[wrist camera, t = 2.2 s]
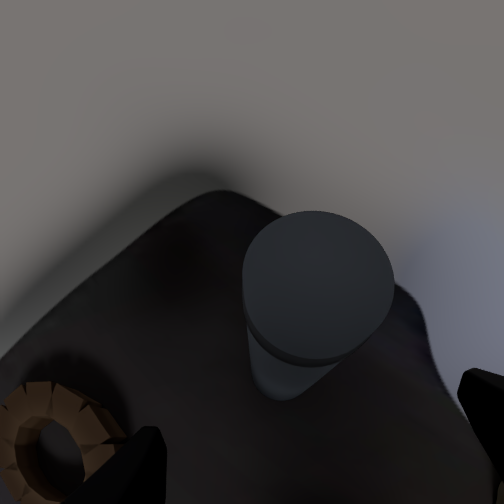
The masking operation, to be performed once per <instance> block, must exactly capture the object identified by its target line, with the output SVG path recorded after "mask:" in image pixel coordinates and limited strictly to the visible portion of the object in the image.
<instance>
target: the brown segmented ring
mask: <svg viewBox="0 0 504 504" xmlns="http://www.w3.org/2000/svg"><path fill="white" fill-rule="evenodd" d="M4 402H5V405H6V406H4V405H1V406H0V437H1V438H0V467H1V468H5V469H4V470H3V471H2V472H0V475H1V477H2V479H3V481H4V482H5V484H6V486H7V488H8V489H9V491H10V493H11V495H12V496H13V498H14V500H15V501H21V504H60V503H61V502H62V501H64V500H65V498H67V497H68V496H66V495H65V494H63V493H62V492H60V491H59V490H57V489H56V488H55V487H53V486H52V485H51V484H50V483H49V481H48V480H47V478H46V477H45V475H44V474H43V472H42V470H41V469H40V467H39V463H38V457H37V450H36V445H37V441H38V438H39V435H40V432H41V430H42V429H43V428H44V427H45V426H47V425H48V424H49V423H50V422H52V421H53V420H55V421H57V422H58V423H60V424H61V425H63V426H64V427H66V428H67V429H68V430H69V432H70V434H71V435H72V437H73V439H74V440H75V442H76V443H77V445H78V446H79V448H80V449H81V453H82V459H83V464H84V469H85V474H86V475H85V478H84V482H85V481H86V480H87V479H88V478H89V477H90V476H91V475H92V474H93V473H94V472H95V471H97V470H98V469H99V468H100V467H101V466H102V465H103V464H104V463H105V462H106V461H107V460H108V459H109V458H110V457H112V456H113V455H114V454H115V453H116V452H117V451H118V450H119V449H120V448H121V447H122V446H123V445H124V444H118V443H120V442H121V441H123V440H124V439H125V438H127V436H126V434H125V433H124V432H123V430H122V429H121V428H120V426H119V425H118V424H117V422H116V421H115V419H114V418H113V416H112V415H111V414H110V412H109V411H108V409H105V408H101V407H102V404H100V403H99V402H97V401H95V400H93V399H91V398H90V397H88V396H86V395H84V394H83V393H81V392H79V391H78V390H75V389H72V388H69V387H66V386H64V385H61V384H58V383H54V382H51V381H48V382H26V386H25V385H22V384H21V385H20V386H19V387H18V388H17V389H16V390H15V391H13V392H12V393H11V394H10V395H9V396H8V397H7V398H6V399H4Z"/></svg>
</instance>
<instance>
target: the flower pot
mask: <svg viewBox="0 0 504 504" xmlns="http://www.w3.org/2000/svg"><path fill="white" fill-rule="evenodd" d="M496 504H504V483H503V481H501V483H500V485H499V487H498V496H497V501H496Z"/></svg>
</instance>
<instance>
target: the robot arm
mask: <svg viewBox="0 0 504 504" xmlns="http://www.w3.org/2000/svg"><path fill="white" fill-rule="evenodd" d="M457 396H458V399H459V401H460V403H461V405H462V407H463V410H464V412H465V414H466V416H467V418H468V420H469V422H470V424H471V426H472V428H473V430H474V432H475V434H476V436H477V438H478V439H479V441H480V443H481V444H482V446H483V448H484V449H485V451H486V453H487V455H488V456H489V458H490V460H491V461H492V463H493V465H494V467H495V469H496V470H497V472H498V474H499V476H500V478H501V480H502V481H503V483H504V376H501V375H498V374H494V373H491V372H488V371H484V370H481V369H478V368H472V369H469V370H467V371H465V372H464V373H463V375H462V378H461V381H460V385H459V388H458V391H457ZM166 469H167V448H166V444H165V442H164V439H163V437H162V434H161V432H160V430H159V428H158V427H155V426H144V427H142V428H141V429H140V430H139V431H138V432H137V433H136V434H135V435H134V436H133V437H131V438H130V439H129V440H128V441H127V442H126V443H125V444H124V445H123V446H122V447H121V448H120V449H119V450H118V451H117V452H116V453H115V454H114V455H113V456H112V457H110V458H109V459H108V460H107V461H106V462H105V463H104V464H103V465H102V466H101V467H100V468H99V469H98V470H97V471H95V472H94V473H93V474H92V475H91V476H90V477H89V478H88V479H87V480H86V481H85V482H83V483H82V484H81V485H80V486H79V487H78V488H77V489H76V490H75V491H73V492H72V493H71V494H70V495H69V496H68V497H67V498H65V500H64V501H62V502H61V503H60V504H165V499H166Z"/></svg>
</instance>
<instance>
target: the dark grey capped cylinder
mask: <svg viewBox="0 0 504 504" xmlns="http://www.w3.org/2000/svg"><path fill="white" fill-rule="evenodd" d="M242 278H243V284H242V301H243V310H244V316H245V320H246V323H247V332H248V342H249V352H250V362H251V372H252V379H253V382H254V384H255V386H256V388H257V389H258V390H259V391H260V392H261V393H262V394H263V395H264V396H266V397H268V398H270V399H273V400H278V401H285V400H290V399H293V398H295V397H297V396H299V395H300V394H302V393H303V392H304V391H305V390H307V389H308V388H309V387H311V386H312V385H313V384H314V383H316V382H317V381H318V380H319V379H320V378H322V377H323V376H324V375H325V374H327V373H328V372H329V371H330V370H331V369H333V368H334V367H335V366H336V365H337V364H338V363H340V362H341V361H342V360H343V359H345V358H347V357H348V356H350V355H351V354H352V353H354V352H355V351H356V350H357V349H358V348H359V347H361V346H362V345H363V344H364V343H365V342H366V341H367V340H368V339H369V338H370V336H371V335H372V333H373V332H374V331H375V330H376V329H377V328H378V327H379V326H380V324H381V323H382V322H383V320H384V319H385V317H386V316H387V314H388V312H389V309H390V307H391V304H392V301H393V296H394V275H393V270H392V266H391V263H390V261H389V258H388V256H387V254H386V253H385V251H384V249H383V247H382V246H381V245H380V243H379V242H378V241H377V240H376V239H375V237H374V236H373V235H371V234H370V233H369V232H368V231H367V230H366V229H365V228H363V227H362V226H360V225H359V224H357V223H356V222H354V221H352V220H350V219H348V218H345V217H343V216H340V215H336V214H333V213H328V212H321V211H304V212H297V213H292V214H289V215H286V216H283V217H281V218H279V219H277V220H275V221H273V222H272V223H270V224H269V225H267V226H266V227H265V228H264V229H262V230H261V231H260V232H259V233H258V234H257V236H256V237H255V238H254V239H253V241H252V243H251V244H250V246H249V248H248V250H247V252H246V255H245V259H244V262H243V270H242Z"/></svg>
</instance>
